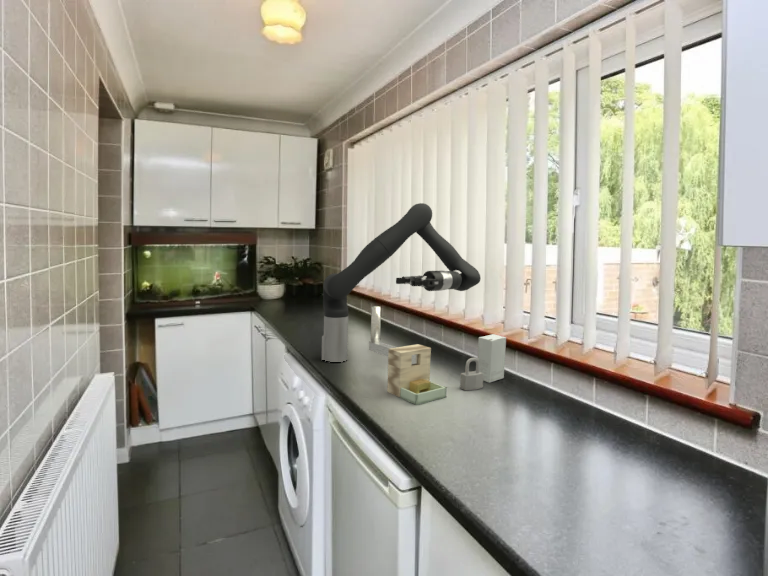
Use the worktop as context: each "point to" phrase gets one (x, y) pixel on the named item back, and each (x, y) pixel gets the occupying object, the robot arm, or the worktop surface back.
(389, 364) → the bearing block
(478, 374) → the padlock
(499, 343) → the skincare box
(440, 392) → the tray
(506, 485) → the worktop surface
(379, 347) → the crank handle
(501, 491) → the worktop surface
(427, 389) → the spacer
